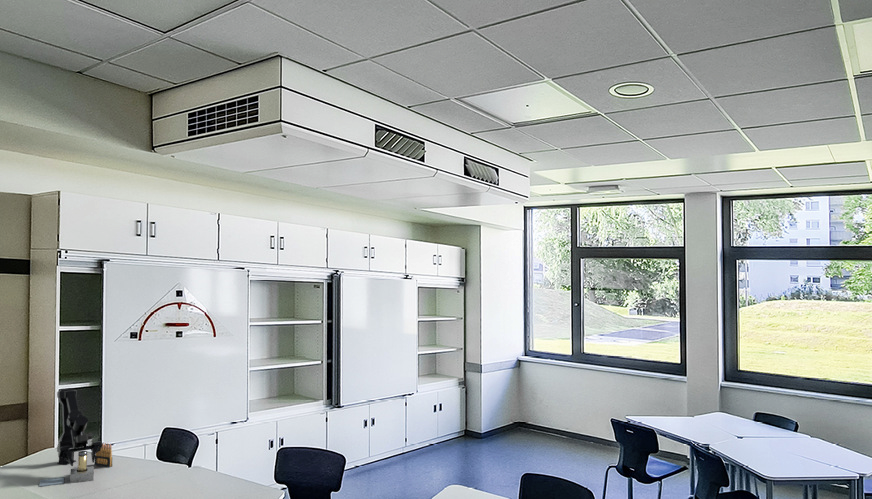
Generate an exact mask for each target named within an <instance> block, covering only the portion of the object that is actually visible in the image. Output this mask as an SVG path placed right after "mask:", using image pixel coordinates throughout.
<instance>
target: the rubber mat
mask: <svg viewBox="0 0 872 499" xmlns="http://www.w3.org/2000/svg"><path fill="white" fill-rule="evenodd" d="M64 481H65V477H64V476H60V477H52V478H46V479H40V480H39V484H38V485H39V486H38V487H39V488H41V487H48V486H56V485H63V484H64V483H65V482H64Z"/></svg>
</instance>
